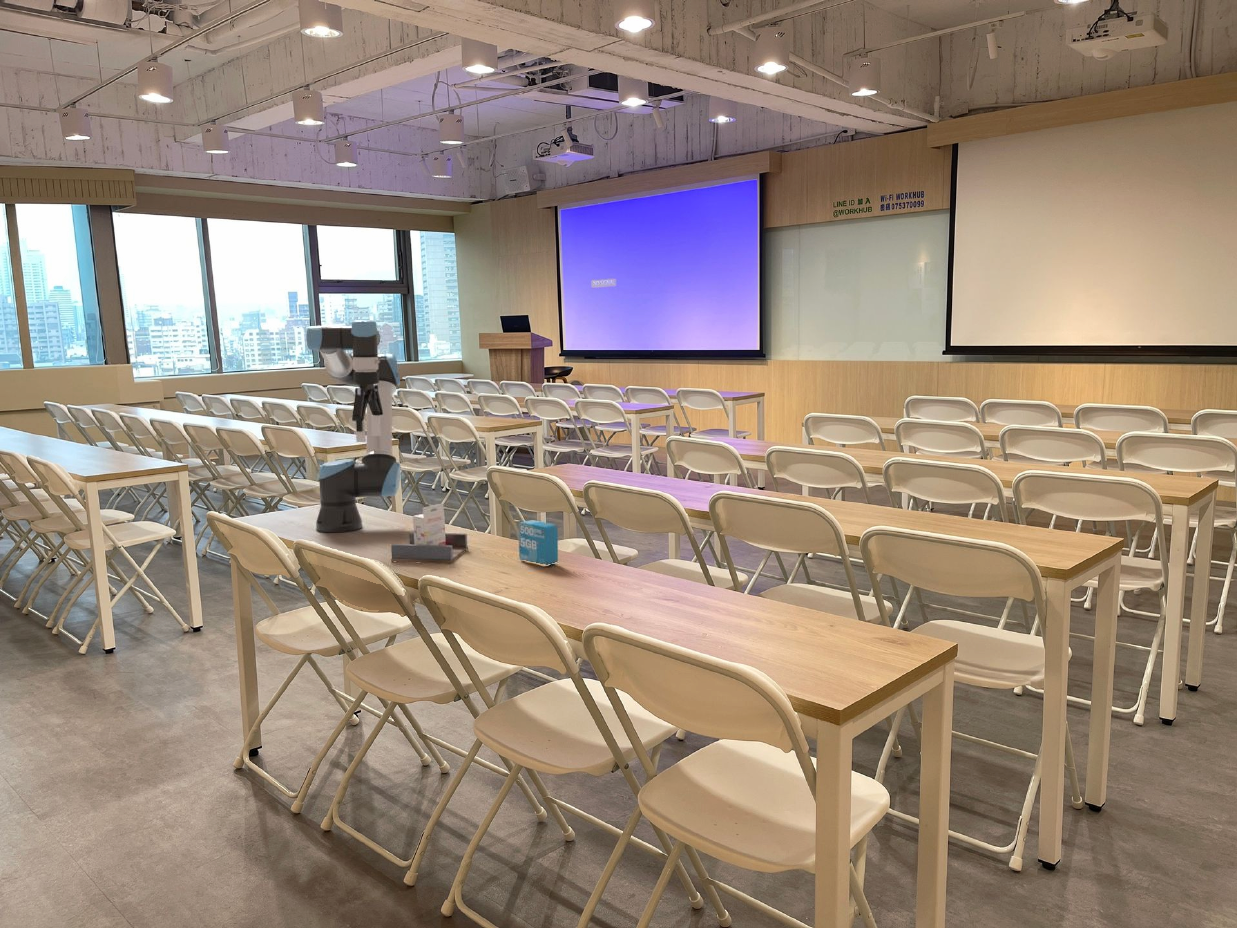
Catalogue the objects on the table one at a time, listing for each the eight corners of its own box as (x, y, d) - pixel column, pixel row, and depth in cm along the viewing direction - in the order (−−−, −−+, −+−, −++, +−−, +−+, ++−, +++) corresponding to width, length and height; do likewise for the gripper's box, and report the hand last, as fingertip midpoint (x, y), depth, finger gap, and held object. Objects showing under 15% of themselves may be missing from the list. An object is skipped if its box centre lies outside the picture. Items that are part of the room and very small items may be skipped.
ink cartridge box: (435, 548, 275) (433, 501, 273) (446, 550, 272) (445, 503, 270) (413, 553, 268) (412, 505, 266) (424, 556, 265) (423, 507, 263)
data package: (518, 561, 264) (518, 521, 262) (530, 558, 267) (529, 519, 265) (547, 568, 256) (546, 527, 254) (558, 565, 259) (558, 524, 258)
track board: (411, 547, 280) (411, 531, 279) (467, 548, 278) (467, 533, 277) (391, 561, 262) (390, 545, 262) (450, 563, 260) (450, 547, 260)
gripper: (363, 374, 264) (366, 444, 267) (391, 368, 288) (393, 433, 292) (338, 373, 264) (342, 444, 268) (368, 368, 289) (371, 433, 292)
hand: (368, 438), depth 280 cm, fingers open, 13 cm apart
